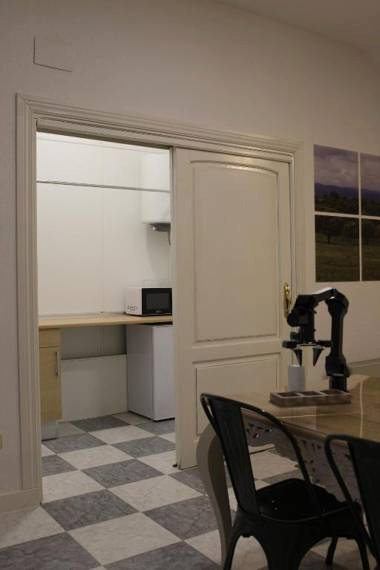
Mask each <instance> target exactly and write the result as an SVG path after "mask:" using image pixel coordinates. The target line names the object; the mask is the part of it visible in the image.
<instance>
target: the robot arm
mask: <svg viewBox="0 0 380 570" xmlns="http://www.w3.org/2000/svg"><path fill="white" fill-rule="evenodd" d="M321 302H324V304H325V305H326V307H327V312H328V314H329V315H330V318H331V322H330V323H331V326H330V327H331V328H330V329H331V330H330V339H326V338H325V339H315V337H316V336H315V335H316V334H315V333H316V331H317V329H316V325H315V321H316V320H315V315H317V310H315V309H316V308H317V307H318V306H319V303H321ZM349 306H350V301H349V299H348V298H347V297H346V295H345V293H342V292H341V291H338V289H337V288H336V287H334V286H331V287H329V286H328V287H324V288H322V289H320V290H316V291H314V292H311V293H299V294H298V295H297V297H296V299H295V302H294V304H293V307H292V309H290V313H288V314H287V316H286V318H285V319H286V320H285V321H286V323H287V325H288V326H289V327H290V328H298V330H297V332H296V331H290V332H289V339H288V340H287V339H286V340H284V339H283V341H282V342H281V347H282V348H283V349H286V350H287V349H289V350H290V351H293V352H294V354H295V357H296V359H297V363H298V365H300V367H302V366H303V349H302V348H301V347H311V348H312V366H313V367H316V365H317V362H318V361H319V358H320V356H321V354H322V353H323V351H326V349H327V348H330V351H329V354H328V355H326V356H325V360H324V361H325V363H324V369H325V370H324V371H325V374H326V377H329V380H328V389H338V390H340V391H343V392H346V393H349V391H350V390H348V379H349V378H350V377H351V372H352V371H351V370H350V368H349V366H348V365H347V358H346V357H345V354H344V353H343V347H344V345H343V343H344V342H343V341H344V318H345V317H346V315H347V314H348V313H349V312H348V311H349Z"/></svg>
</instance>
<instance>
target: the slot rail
mask: <svg viewBox="0 0 380 570" xmlns="http://www.w3.org/2000/svg"><path fill="white" fill-rule="evenodd" d="M269 400H270V401H271V402H273V403H275V404H276V405H277V406H280V407H291V406H292V407H294V406H308V405H309V406H310V405H313V406H314V405H327V404H328V405H329V404H342V403H344V404H345V403H346V404H347V403H352V394H351V393H349V392H343V391H340V390H338V389H329V388H328V389H312V390H309V389H306V391H289V390H288V391H273V392H269Z"/></svg>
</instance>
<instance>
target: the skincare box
mask: <svg viewBox="0 0 380 570" xmlns="http://www.w3.org/2000/svg"><path fill="white" fill-rule="evenodd" d="M305 370H306V367H305V365H302V367H300V365H299V364H288V365H287V379H288V381H287V382H288V392H289V391H307V389H306V371H305Z"/></svg>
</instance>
